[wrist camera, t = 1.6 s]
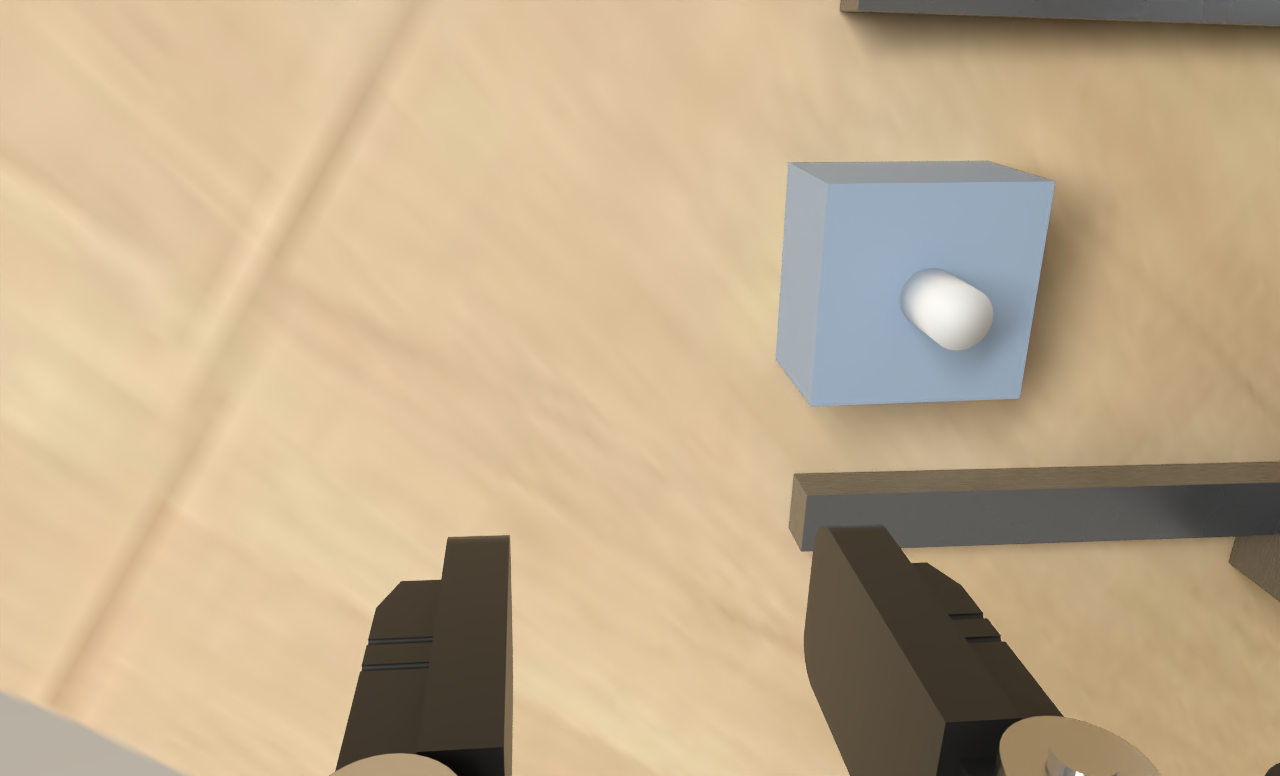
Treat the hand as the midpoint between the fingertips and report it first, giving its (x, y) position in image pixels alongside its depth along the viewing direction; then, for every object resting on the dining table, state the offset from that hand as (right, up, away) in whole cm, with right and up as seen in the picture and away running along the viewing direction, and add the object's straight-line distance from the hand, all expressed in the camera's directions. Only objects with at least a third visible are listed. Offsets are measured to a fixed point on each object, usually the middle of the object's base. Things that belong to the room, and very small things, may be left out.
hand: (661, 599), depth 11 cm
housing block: (+7, +6, +17) cm, 20 cm away
